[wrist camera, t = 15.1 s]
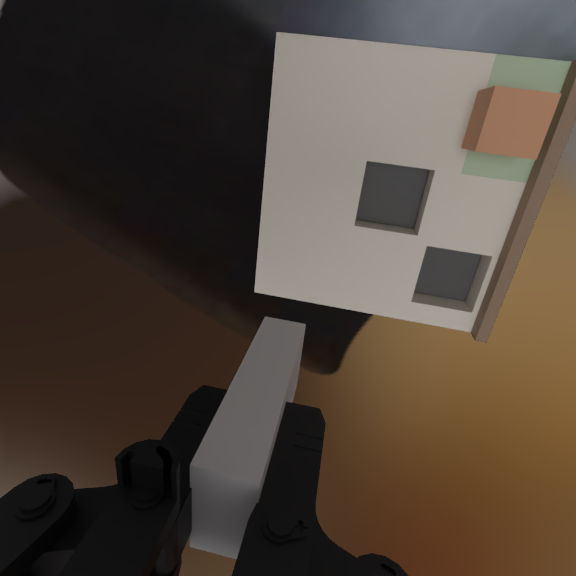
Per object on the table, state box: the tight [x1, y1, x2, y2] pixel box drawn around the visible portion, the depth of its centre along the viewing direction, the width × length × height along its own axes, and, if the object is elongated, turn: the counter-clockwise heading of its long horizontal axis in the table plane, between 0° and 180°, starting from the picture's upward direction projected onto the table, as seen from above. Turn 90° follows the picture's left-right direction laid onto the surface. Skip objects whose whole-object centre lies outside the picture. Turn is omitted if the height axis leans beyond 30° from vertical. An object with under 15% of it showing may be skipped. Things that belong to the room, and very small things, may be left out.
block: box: [461, 86, 562, 160], centre depth 26 cm, size 4×4×4 cm
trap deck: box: [254, 32, 576, 343], centre depth 32 cm, size 22×22×4 cm
